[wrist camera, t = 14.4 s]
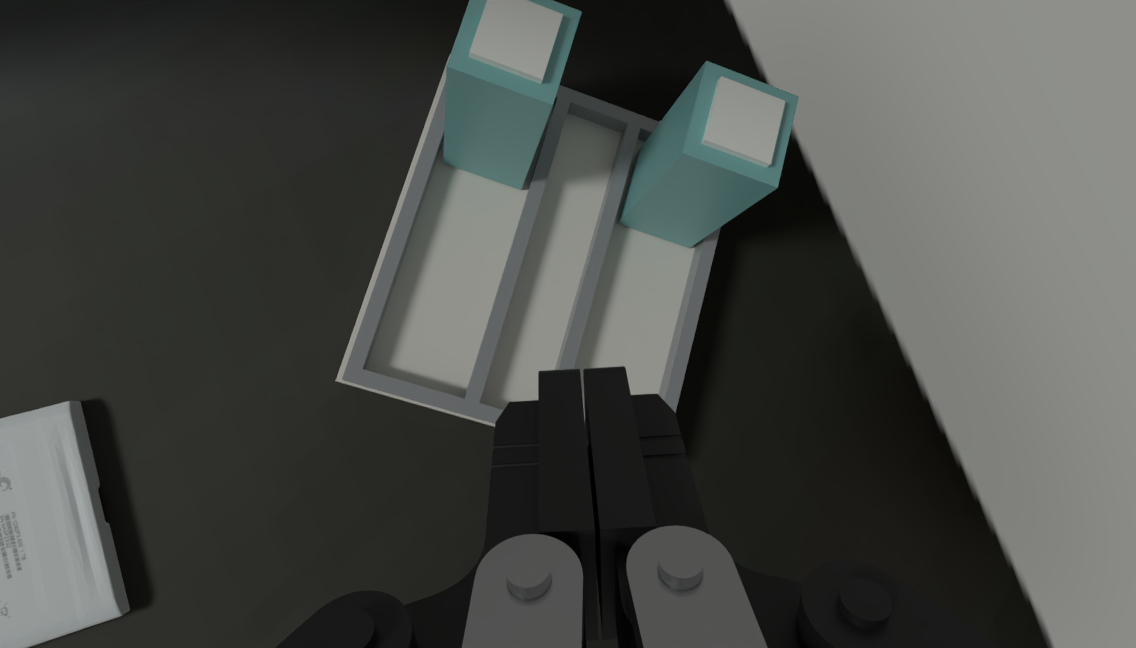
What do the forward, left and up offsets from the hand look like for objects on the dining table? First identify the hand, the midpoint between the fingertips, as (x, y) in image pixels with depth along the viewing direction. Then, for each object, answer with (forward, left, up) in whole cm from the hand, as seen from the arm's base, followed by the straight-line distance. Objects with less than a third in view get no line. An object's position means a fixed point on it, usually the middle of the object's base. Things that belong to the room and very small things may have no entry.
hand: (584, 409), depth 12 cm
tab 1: (-10, +7, -16) cm, 20 cm away
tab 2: (-3, +12, -16) cm, 20 cm away
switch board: (-4, +6, -17) cm, 19 cm away
